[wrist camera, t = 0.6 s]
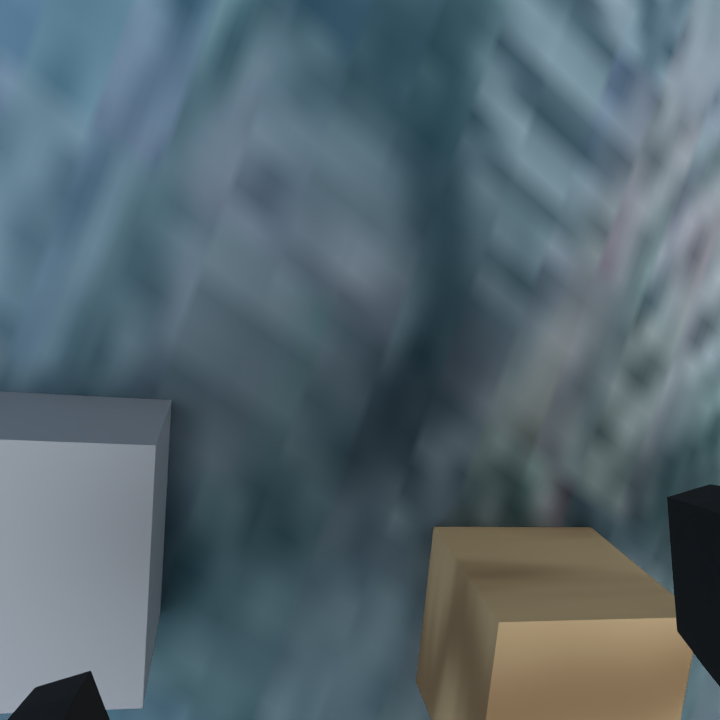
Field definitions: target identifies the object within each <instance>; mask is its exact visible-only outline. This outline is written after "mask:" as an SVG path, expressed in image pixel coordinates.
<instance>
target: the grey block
mask: <svg viewBox="0 0 720 720" xmlns="http://www.w3.org/2000/svg"><path fill="white" fill-rule="evenodd" d="M171 404H172V400H160V399H141V398H121V397H101V396H82V395H62V394H42V393H23V392H3V391H0V713H14V711H15V710H16V709H17V708H18V707H19V705H20V704H21V703H22V702H23V701H24V700H25V698H26V697H27V696H28V695H29V694H30V693H31V692H32V690H33V689H34V688H35V687H38V686H41V685H44V684H48V683H51V682H54V681H58V680H61V679H64V678H68V677H71V676H74V675H78V674H81V673H84V672H88V671H91V672H92V675H93V678H94V680H95V683H96V685H97V688H98V691H99V693H100V696H101V699H102V701H103V704H104V706H105V709H106V710H107V709H135V708H143V703H144V698H145V693H146V687H147V682H148V676H149V671H150V666H151V660H152V655H153V649H154V644H155V639H156V633H157V628H158V622H159V617H160V609H161V590H162V572H163V553H164V534H165V516H166V497H167V478H168V460H169V441H170V422H171Z"/></svg>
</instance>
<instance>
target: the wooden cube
mask: <svg viewBox="0 0 720 720" xmlns="http://www.w3.org/2000/svg"><path fill="white" fill-rule="evenodd" d="M692 655H693V651H692V650H691V649H690V647H689V646H688V645H687V643H686V642H685V641H684V639H683V638H682V637H681V636H680V634H679V633H678V632H677V623H676V610H675V596H674V595H673V594H671V593H670V592H669V591H668V590H666V589H665V588H664V587H663V586H662V585H660V584H659V583H658V582H657V581H656V580H654V579H653V578H652V577H651V576H650V575H648V574H647V573H646V572H645V571H643V570H642V569H641V568H640V567H639V566H637V565H636V564H635V563H634V562H633V561H631V560H630V559H629V558H628V557H627V556H625V555H624V554H623V553H622V552H620V551H619V550H618V549H617V548H616V547H614V546H613V545H612V544H611V543H610V542H608V541H607V540H606V539H605V538H603V537H602V536H601V535H600V534H599V533H597V532H596V531H595V530H594V529H593V528H591V527H434V529H433V537H432V546H431V555H430V564H429V573H428V582H427V590H426V599H425V608H424V617H423V626H422V635H421V643H420V652H419V661H418V670H417V679H416V683H417V685H418V688H419V690H420V693H421V695H422V698H423V700H424V703H425V705H426V707H427V710H428V712H429V715H430V717H431V720H680V718H681V713H682V708H683V703H684V697H685V692H686V687H687V682H688V676H689V671H690V666H691V661H692Z"/></svg>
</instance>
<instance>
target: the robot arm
mask: <svg viewBox="0 0 720 720" xmlns="http://www.w3.org/2000/svg"><path fill="white" fill-rule="evenodd" d="M667 501H668V514H669V528H670V542H671V555H672V569H673V582H674V596H675V610H676V623H677V632H678V633H679V634H680V636H681V637H682V638H683V639H684V641H685V642H686V643H687V645H688V646H689V647H690V649H691V650H692V651H693V653H694V654H695V655H696V657H697V658H698V659H699V661H700V662H701V663H702V665H703V666H704V667H705V669H706V670H707V671H708V672H709V674H710V675H711V676H712V677H713V679H714V680H715V681H716V682H717V684H718V685H719V686H720V486H716V485H706V486H703V487H700V488H696V489H693V490H690V491H687V492H683V493H680V494H677V495H673V496H670V497H667ZM8 720H109V717H108V714H107V712H106V709H105V706H104V704H103V701H102V699H101V696H100V693H99V691H98V688H97V685H96V683H95V680H94V678H93V675H92V672H91V671H88V672H84V673H81V674H78V675H74V676H71V677H68V678H64V679H61V680H58V681H54V682H51V683H48V684H44V685H41V686H38V687H35V688H34V689H33V690H32V692H31V693H30V694H29V695H28V696H27V697H26V698H25V700H24V701H23V702H22V703H21V704H20V705H19V707H18V708H17V709H16V710H15V711H14V713H13V714H12V715H11V716H10V718H9V719H8Z"/></svg>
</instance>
